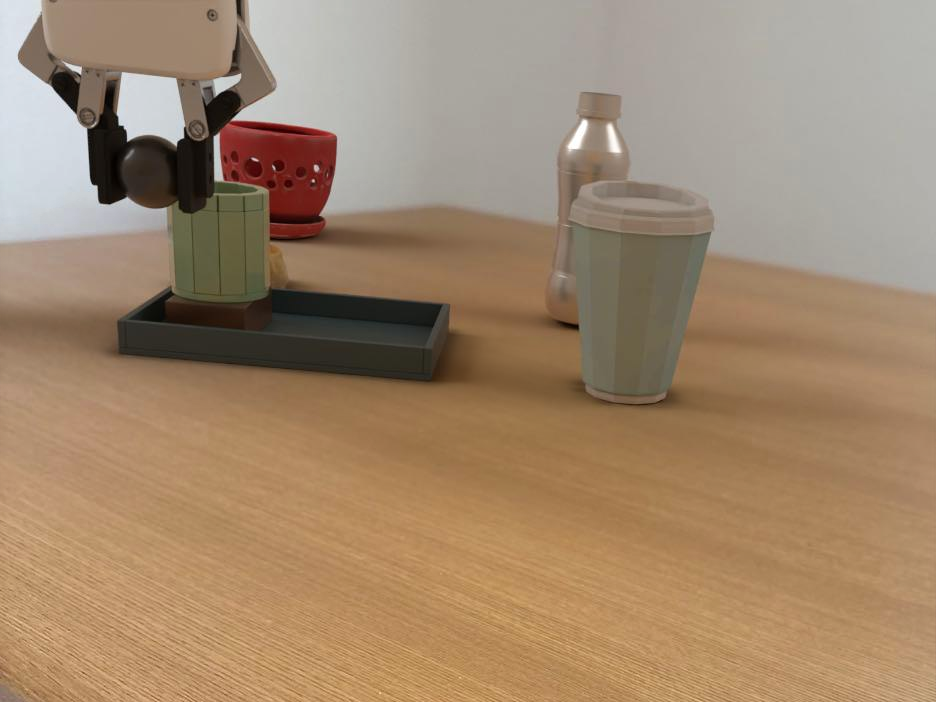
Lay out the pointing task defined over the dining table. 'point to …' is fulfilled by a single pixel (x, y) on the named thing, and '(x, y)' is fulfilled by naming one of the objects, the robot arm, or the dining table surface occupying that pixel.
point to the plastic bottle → (579, 163)
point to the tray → (304, 335)
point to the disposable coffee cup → (636, 283)
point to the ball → (148, 171)
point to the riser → (220, 313)
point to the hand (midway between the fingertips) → (153, 202)
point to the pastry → (277, 268)
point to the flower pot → (282, 171)
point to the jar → (222, 246)
